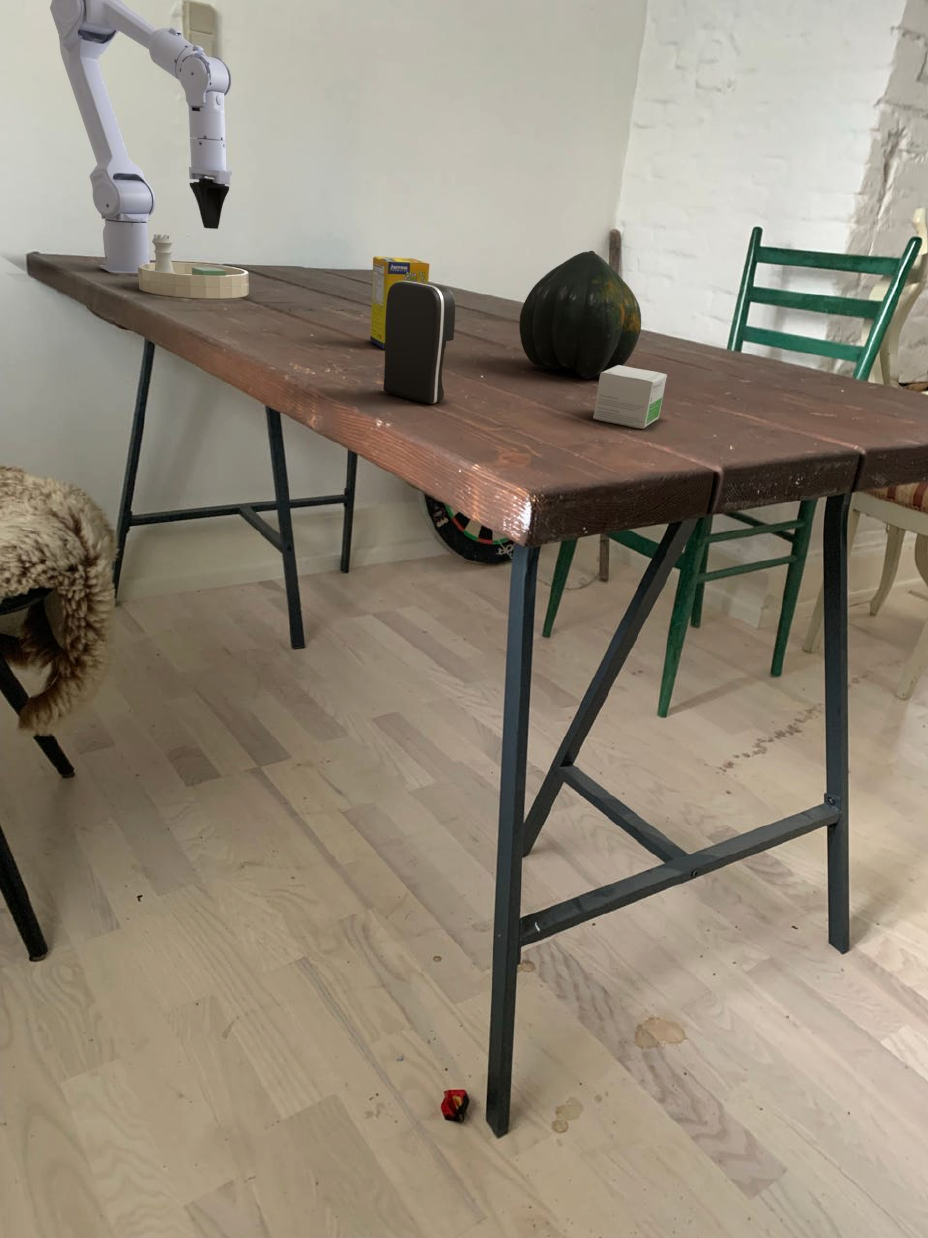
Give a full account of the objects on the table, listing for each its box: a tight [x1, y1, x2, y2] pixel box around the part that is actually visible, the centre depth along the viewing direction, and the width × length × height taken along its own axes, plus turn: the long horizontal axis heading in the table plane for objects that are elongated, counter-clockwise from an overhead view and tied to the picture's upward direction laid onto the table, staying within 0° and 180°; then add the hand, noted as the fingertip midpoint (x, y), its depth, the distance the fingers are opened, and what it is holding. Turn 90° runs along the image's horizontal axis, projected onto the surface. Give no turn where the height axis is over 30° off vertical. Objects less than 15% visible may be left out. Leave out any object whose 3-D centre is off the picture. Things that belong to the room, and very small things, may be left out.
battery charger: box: [383, 281, 456, 404], centre depth 93 cm, size 7×4×11 cm, turn 52°
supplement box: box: [369, 255, 430, 350], centre depth 119 cm, size 6×6×11 cm
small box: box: [592, 365, 668, 430], centre depth 93 cm, size 6×6×5 cm
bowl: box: [137, 261, 250, 300], centre depth 148 cm, size 17×17×4 cm
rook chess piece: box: [151, 234, 175, 273], centre depth 147 cm, size 4×4×8 cm
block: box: [192, 267, 226, 276], centre depth 145 cm, size 4×4×4 cm
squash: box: [518, 250, 642, 380], centre depth 113 cm, size 14×15×15 cm
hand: (211, 228), depth 157 cm, fingers closed
